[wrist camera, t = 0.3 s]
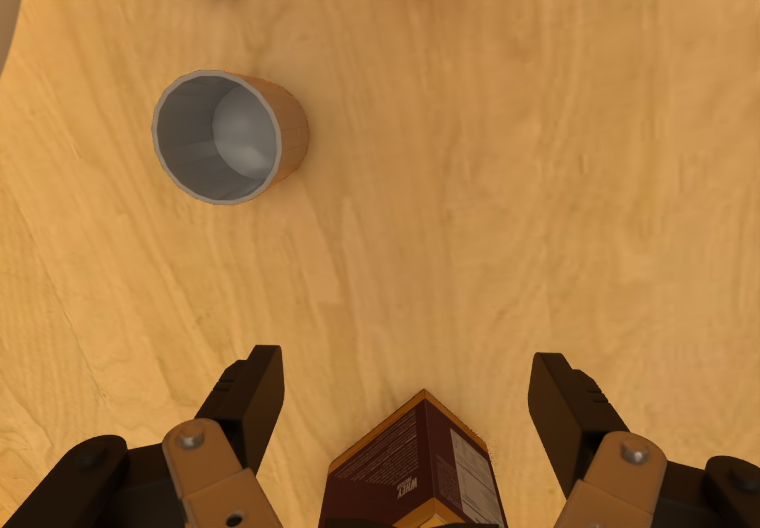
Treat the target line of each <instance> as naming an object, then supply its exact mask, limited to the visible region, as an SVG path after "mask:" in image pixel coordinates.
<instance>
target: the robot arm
mask: <svg viewBox="0 0 760 528" xmlns="http://www.w3.org/2000/svg"><path fill="white" fill-rule="evenodd" d="M284 391H285V387H284V374H283V362H282V350H281V347H280V346H279V345H256V346H255V347H254V348H253V350H252V352H251V354H250V355H249V357H248V359H247V360H237V361H236V362H235V363H233V364H232V365H231V366H229V367H228V368H226V369H225V371H224V372H223V374H222V376H221V377H220V379H219V382H217V383H216V385H215V386H214V388H213V391H211V393H210V394H209V396H208V397H207V399H206V400H205V402H204V403H203V405H202V407H201V408H200V410H199V411H198V413H197V414H196V416H195V417H194V419H192V420H189V421H185V422H183V423H181V424H179V425H177V426H175V427H174V428H172V429H171V430H170V431H169V432H168V433H167V434H166V435H165V437H164V439H163V441H162V443H158V444H154V445H149V446H144V447H139V448H134V449H129V450H128V449H127V444H126V441H125V440H124V439H123V438H122V437H120V436H117V435H102V436H97V437H93V438H91V439H88V440H86V441H83V442H81V443H80V444H78V445H76V446H75V447H73V448H72V449H70V450H69V451H68V452H67V453H66V454H65V455H64V456H63V457H62V458H61V460H60V461H59V462H58V463H57V464H56V465H55V466H54V468H53V469H52V470H51V471H50V472H49V473H48V475H47V476H46V477H45V478H44V479H43V480H42V482H41V483H40V484H39V485H38V486H37V487H36V489H35V490H34V491H33V492H32V493H31V494H30V495H29V497H28V498H27V499H26V500H25V501H24V502H23V504H22V505H21V506H20V507H19V508H18V509H17V511H16V512H15V513H14V514H13V515H12V516H11V518H10V519H9V520H8V521H7V522H6V523H5V524H4V526H3V527H2V528H283V526H282V524H281V522H280V521H279V519H278V517H277V515H276V513H275V511H274V510H273V508H272V506H271V504H270V502H269V500H268V499H267V497H266V495H265V493H264V491H263V490H262V488H261V486H260V484H259V482H258V480H257V479H256V474H257V472H258V469H259V467H260V464H261V461H262V459H263V456H264V453H265V451H266V448H267V445H268V443H269V440H270V438H271V435H272V432H273V430H274V427H275V424H276V422H277V419H278V416H279V414H280V411H281V408H282V405H283V401H284ZM528 407H529V412H530V415H531V418H532V420H533V423H534V425H535V427H536V430H537V432H538V434H539V437H540V439H541V441H542V444H543V446H544V448H545V451H546V453H547V456H548V458H549V460H550V463H551V465H552V467H553V470H554V472H555V474H556V477H557V479H558V481H559V484H560V486H561V488H562V491H563V493H564V495H565V498H566V500H567V502H566V504H565V506H564V508H563V510H562V512H561V514H560V515H559V517H558V519H557V521H556V523H555V525H554V527H553V528H760V468H759V467H757V466H756V465H753V464H751V463H749V462H747V461H744V460H742V459H738V458H735V457H731V456H714V457H711V458H710V459H709V460H708V461H707V464H706V467H705V470H702V469H698V468H694V467H690V466H686V465H682V464H678V463H675V462H671V461H668V460H667V458H666V456H665V454H664V453H663V451H662V450H661V449H660V448H659V447H658V446H657V445H656V444H654V443H653V442H651V441H650V440H648V439H646V438H644V437H642V436H640V435H637V434H634V433H631V432H630V430H629V429H628V428H627V426H626V425H625V423H624V422H623V421H622V419H621V418H620V416H619V415H618V414H617V412H616V411H615V409H614V408H613V406H612V405H611V404H610V403H608V399H607V398H606V397H605V395H604V394H603V393H602V391H601V389H600V388H599V387H598V385H597V384H596V382H595V381H594V380H593V379H592V378H591V377H589V376H588V375H586V374H585V373H584V372H582V371H581V370H578V369H572V368H571V366H570V365H569V363H568V362H567V360H566V359H565V357H564V356H563V355H562V354H561V353H540V352H537V353H535V355H534V358H533V364H532V370H531V377H530V384H529V391H528ZM324 528H398V527H394V526H391V525H387V524H384V523H380V522H377V521H373V520H369V519H352V518H326V520H325V526H324ZM431 528H499V524H485V523H458V522H455V523H450V524H446V525H441V526H436V527H431Z"/></svg>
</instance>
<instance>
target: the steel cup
mask: <svg viewBox="0 0 760 528" xmlns="http://www.w3.org/2000/svg"><path fill="white" fill-rule="evenodd" d="M152 136H153V143H154V149H155V152H156V154H157V156H158V159H159V161H160V163H161V165H162V167H163V169H164V171H165V172H166V173H167V175H168V176H169V177H170V178H171V179H172V180H173V182H174V183H175V184H176V185H177V186H178V187H179V188H180V189H182V190H183V191H185V192H186V193H188V194H189V195H191V196H192V197H194V198H195V199H198V200H201V201H204V202H207V203H210V204H213V205H236V204H239V203H242V202H246V201H249V200H251V199H253V198H255V197H256V196H258V195H260V194H261V193H263V192H264V191H266V190H267V189H269V188H271V187H272V186H274V185H275V184H277V183H278V182H280V181H282V180H283V179H285V178H286V177H287V176H289V175H290V174H291V173H293V172H294V171H295V170H296V169H297V168H298V167H299V165H300V164H301V163H302V161H303V159H304V157H305V155H306V152H307V149H308V144H309V127H308V122H307V119H306V116H305V113H304V111H303V109H302V107H301V106H300V104H299V103H298V101H297V100H296V99H295V98H294V97H293V96H292V95H291V94H290V93H289V92H288V91H287V90H285V89H284V88H283V87H281V86H279V85H277V84H275V83H272V82H270V81H266V80H263V79H259V78H254V77H249V76H244V75H240V74H235V73H230V72H225V71H220V70H198V71H195V72H192V73H190V74H187V75H184V76H181V77H179V78H178V79H177V80H176V81H175V82H173V83H172V84H171V85H170V86H169V87H168V88H167V89H165V91H164V92H163V94H162V96H161V98H160V99H159V101H158V103H157V105H156V107H155V110H154V116H153V123H152Z"/></svg>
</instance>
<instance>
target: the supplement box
mask: <svg viewBox="0 0 760 528" xmlns="http://www.w3.org/2000/svg"><path fill="white" fill-rule="evenodd" d="M326 518H352V519H369V520H373V521H377V522H380V523H384V524H387V525H391V526H394V527H398V528H431V527H436V526H441V525H446V524H450V523H455V522H458V523H485V524H499V528H508V525H507V521H506V517H505V513H504V510H503V506H502V502H501V499H500V494H499V491H498V487H497V484H496V480H495V476H494V472H493V468H492V465H491V461H490V457H489V454H488V450H487V446H486V444H485V443H484V442H483V441H482V440H481V439H480V438H479V437H477V436H476V435H475V434H474V433H473V432H472V431H471V430H470V429H468V428H467V427H466V426H465V425H464V424H463V423H462V422H461V421H460V420H458V419H457V418H456V417H455V416H454V415H453V414H452V413H451V412H449V411H448V410H447V409H446V408H445V407H444V406H443V405H442V404H440V403H439V402H438V401H437V400H436V399H435V398H434V397H433V396H431V395H430V394H429V393H428V392H427V391H426V390H423V391H422V392H420V393H419V394H418V395H416V396H415V397H414V398H413V399H412V400H410V401H409V402H408V403H407V404H405V405H404V406H403V407H402V408H400V409H399V410H398V411H397V412H395V413H394V414H393V415H391V416H390V417H389V418H388V419H386V420H385V421H384V422H383V423H381V424H380V425H379V426H378V427H376V428H375V429H374V430H373V431H371V432H370V433H369V434H368V435H366V436H365V437H364V438H363V439H361V440H360V441H359V442H358V443H356V444H355V445H354V446H353V447H351V448H350V449H349V450H348V451H346V452H345V453H344V454H343V455H341V456H340V457H339V458H338V459H336V460H335V461H334V462H333V463H331V464H330V466H329V471H328V477H327V482H326V488H325V492H324V498H323V503H322V509H321V514H320V519H319V524H318V528H324V526H325V520H326Z"/></svg>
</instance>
